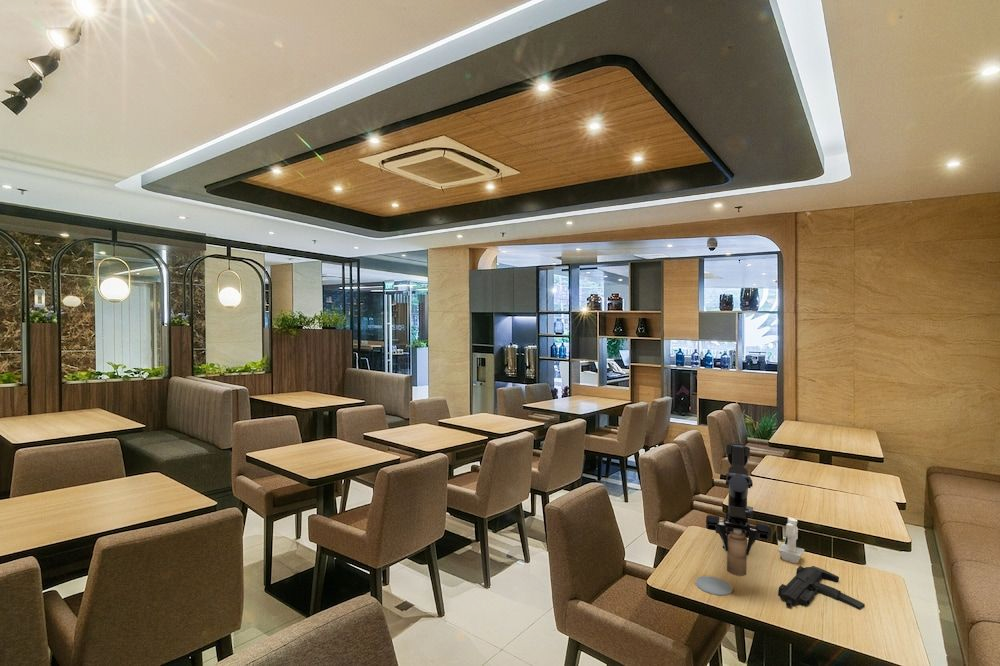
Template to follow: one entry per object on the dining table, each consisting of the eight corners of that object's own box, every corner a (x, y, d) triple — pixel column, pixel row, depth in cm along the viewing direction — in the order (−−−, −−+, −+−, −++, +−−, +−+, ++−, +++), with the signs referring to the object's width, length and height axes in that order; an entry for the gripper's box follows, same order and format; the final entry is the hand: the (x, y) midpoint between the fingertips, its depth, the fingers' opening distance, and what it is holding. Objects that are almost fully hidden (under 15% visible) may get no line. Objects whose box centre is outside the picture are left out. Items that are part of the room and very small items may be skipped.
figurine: (805, 558, 184) (806, 517, 184) (799, 567, 177) (801, 525, 177) (782, 552, 189) (784, 512, 189) (776, 560, 182) (778, 519, 182)
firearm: (848, 637, 141) (771, 602, 155) (872, 597, 161) (802, 570, 176) (849, 625, 140) (772, 592, 155) (873, 587, 161) (803, 561, 176)
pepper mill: (726, 565, 164) (727, 525, 163) (746, 569, 161) (747, 528, 161) (726, 573, 159) (727, 531, 158) (746, 577, 156) (747, 535, 156)
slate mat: (712, 574, 171) (712, 573, 171) (740, 590, 161) (740, 589, 161) (688, 581, 166) (688, 580, 166) (715, 598, 156) (715, 597, 156)
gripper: (707, 490, 167) (704, 536, 157) (771, 499, 159) (772, 548, 149) (707, 505, 174) (705, 550, 164) (768, 515, 166) (769, 563, 157)
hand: (736, 552), depth 158 cm, fingers closed on pepper mill, 6 cm apart
